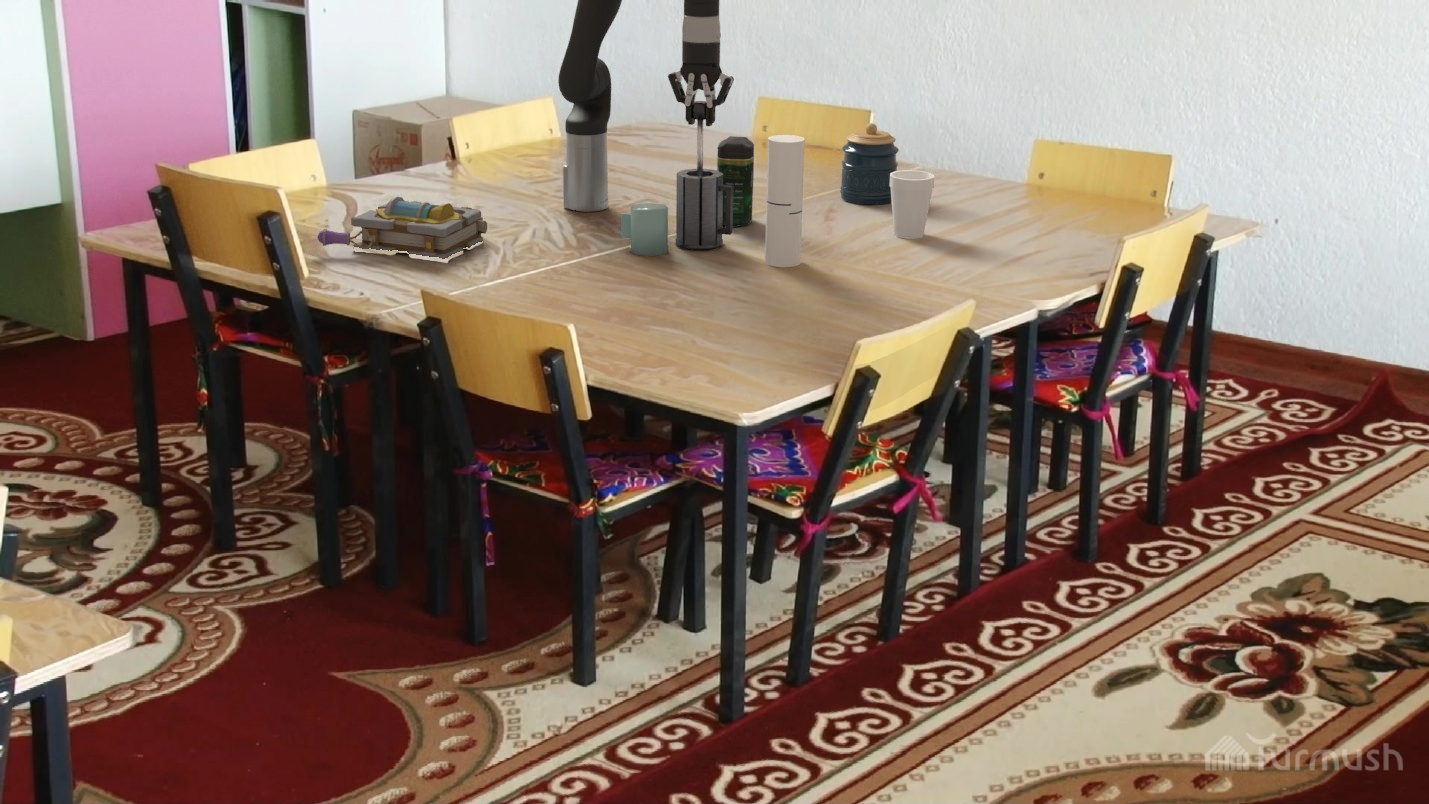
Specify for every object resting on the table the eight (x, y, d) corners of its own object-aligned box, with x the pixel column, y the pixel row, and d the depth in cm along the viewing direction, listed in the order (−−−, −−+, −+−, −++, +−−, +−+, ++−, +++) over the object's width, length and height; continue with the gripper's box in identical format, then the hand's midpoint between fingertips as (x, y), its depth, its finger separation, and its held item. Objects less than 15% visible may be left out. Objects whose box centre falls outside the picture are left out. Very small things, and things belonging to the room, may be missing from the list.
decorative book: (383, 230, 338) (379, 181, 335) (493, 241, 330) (490, 192, 326) (315, 258, 316) (311, 207, 313) (431, 272, 308) (428, 219, 304)
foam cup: (935, 231, 340) (938, 172, 335) (925, 242, 332) (929, 181, 327) (891, 227, 343) (895, 168, 338) (881, 238, 334) (885, 177, 330)
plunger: (687, 189, 322) (687, 103, 316) (693, 185, 326) (694, 100, 319) (705, 191, 321) (706, 104, 315) (712, 186, 325) (713, 101, 318)
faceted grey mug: (668, 248, 325) (668, 176, 320) (685, 236, 334) (685, 166, 328) (723, 254, 321) (724, 181, 316) (738, 242, 330) (739, 171, 325)
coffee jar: (750, 228, 340) (752, 143, 334) (713, 227, 341) (715, 142, 334) (754, 217, 349) (756, 134, 343) (718, 216, 350) (720, 133, 343)
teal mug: (615, 252, 322) (614, 209, 318) (629, 243, 328) (628, 200, 325) (659, 257, 319) (659, 214, 315) (673, 247, 325) (673, 205, 322)
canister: (905, 197, 369) (909, 122, 362) (880, 208, 358) (884, 131, 352) (856, 189, 375) (859, 115, 369) (829, 200, 365) (833, 124, 358)
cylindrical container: (763, 257, 319) (766, 134, 310) (798, 257, 320) (802, 134, 311) (767, 267, 313) (770, 142, 304) (802, 266, 313) (806, 142, 304)
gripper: (661, 38, 311) (661, 125, 318) (728, 43, 307) (727, 131, 313) (674, 33, 318) (674, 118, 324) (740, 37, 314) (739, 124, 320)
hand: (700, 124), depth 319 cm, fingers closed on plunger, 3 cm apart
